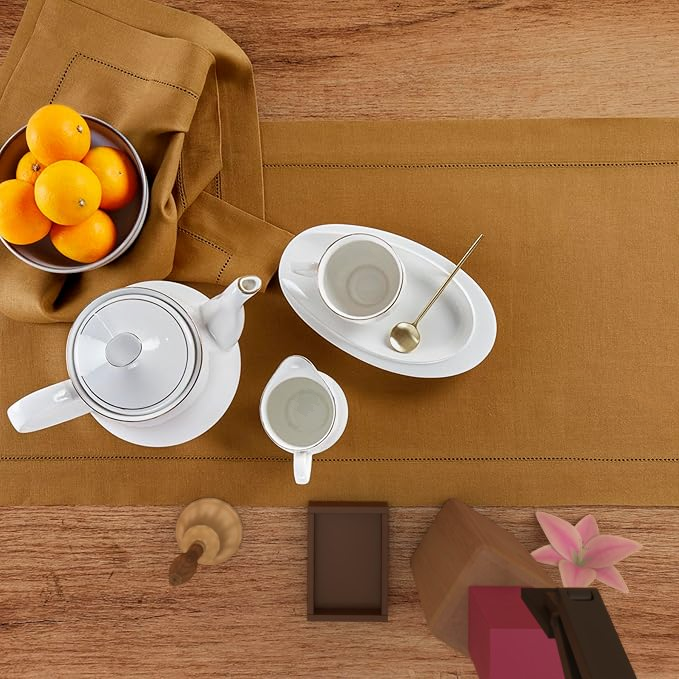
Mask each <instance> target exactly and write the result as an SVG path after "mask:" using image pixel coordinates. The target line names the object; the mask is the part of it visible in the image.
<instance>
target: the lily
mask: <svg viewBox="0 0 679 679" xmlns="http://www.w3.org/2000/svg"><path fill="white" fill-rule="evenodd" d="M535 517H536V520H537V522H538V523H539V526H540V527H541V529H542V531H543V532H544V534H545V536H546V539H547V540H548V542H549V543H548V544H546V545H543V546H541V547H539V548H537V549H534V550H533V551H532V552H529V553H530V554H531V555H532V556H533V557H534V559H535V560H536V561H537V562H538V563H539V564H540V563H541V564H544V565H549V566H553V567H558V570H559V575H560V579H561V583H562V587H589V586H590V585H591V584H592V583H593V582H594V581H595V580H596V581H598V582H600V583H602V584H604V585H606V586H607V587H610V588H612V589H615V590H617V591H618V592H621V593H624V594H629V593H630V590H629V588H628V585H627V583H626V582H625V580H624V578H623V576H622V575H621V573H620V571H619V570H618V569H617V568H616V566H614V565H615V564H617V563H619V562H621V561H623V560H625V559H626V558H628V557H630V556H632V555H634V554H636V553H637V552H639V551H641V550H642V549H643V548H644V545H643V544H642V543H641V542H639V541H637V540H633V539H630V538H627V537H624V536H623V537H622V536H619V535H614V534H613V535H612V534H600V529H599V526H598V522H597V520H596V519H595V517H594V515H593V514H591V513H590V514H587V515H585V516H584V517H582V518H581V519H580V520H579V521H578V522H577V523H576V524H575V525H573V524H571V523H570V522H569V521H567V520H565V519H564V518H561V517H558V516H556V515H553V514H550V513H547V512H545V511H540V510H537V511H535Z"/></svg>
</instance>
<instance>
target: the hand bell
mask: <svg viewBox="0 0 679 679" xmlns="http://www.w3.org/2000/svg"><path fill="white" fill-rule="evenodd" d="M174 529H175V531H174V532H175V539H176V544H177V546H178V547H179V549H180V551H181V552H182V553H181V554H179V555H177V556H176V557H175V558H174V559H173V560H172V562H171V564H170V566H169V568H168V583H169V585H170V586H171V587H179V586H180V585H184V584H187V583H188V582H190V580H192V578H193V577H194V576H195V575H196V572H197V570H198V566H199V565H201V566H202V565H203V566H215V565H219V564H222V563H225V562H227V561H228V560H229V559H231V558H232V557H233V556H235V554H236V553H237V552H238V550H239V548H240V546H241V544H242V541H243V536H244V525H243V522H242V519H241V516H240V515H239V513H238V512H237V510H236V509H235V508H234V507H233V506H232V505H231V504H229V503H228V502H227V501H224V500H222V499H220V498H216V497H202V498H199V499H196V500H193V501H192V502H190V503H189V504H188V505H186V506H185V507H184V508H183V509H182V511H181V512H180V513H179V516H178V518H177V519H176V524H175V528H174Z"/></svg>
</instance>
